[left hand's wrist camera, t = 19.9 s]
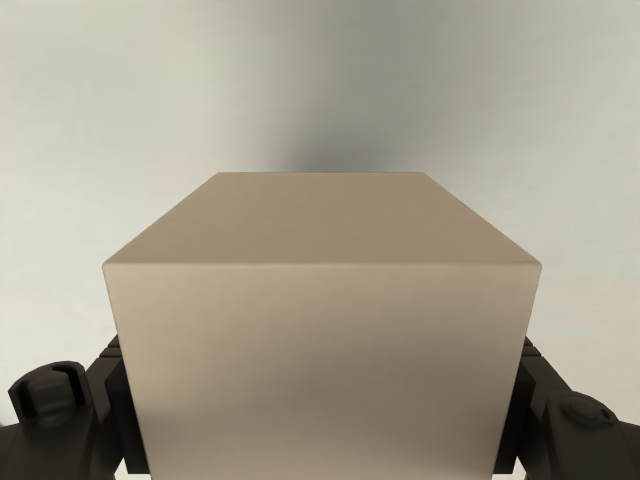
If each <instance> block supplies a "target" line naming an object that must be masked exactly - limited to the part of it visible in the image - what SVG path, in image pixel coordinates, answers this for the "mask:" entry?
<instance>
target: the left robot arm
mask: <svg viewBox="0 0 640 480" xmlns="http://www.w3.org/2000/svg"><path fill="white" fill-rule="evenodd" d="M8 394H9V396H10V399H11V401H12V404H13V407H14V409H15V412H16V414H17V417H18V420H19V422H20V423H17V424H13V425H9V426H5V427H0V480H116V479H115V475H114V474H115V472H116V470H117V468H118V466H119V464H120V462H121V461H122V459H123V457H124V460H125V464H126V468H127V472H128V474H150V471H149V467H148V463H147V458H146V454H145V450H144V445H143V441H142V437H141V433H140V428H139V424H138V420H137V415H136V411H135V407H134V403H133V398H132V394H131V390H130V385H129V381H128V377H127V373H126V368H125V364H124V360H123V355H122V351H121V347H120V343H119V338H118V334H117V335H116V336H115V337H114V338H113V340H112V341H111V342H110V343H109V344H108V347H107V348H105V349H104V350H103V352H102V353H101V354H100V355H99V358H97V359H96V360H95V361H94V362H93V363H92V365H91V366H90V367H89V368H88V369H87V371H86V372H85V369H84V367H83V366H82V365H81V364H80V363H78V362H73V361H61V362H54V363H51V364H47V365H44V366H41V367H39V368H37V369H35V370H33V371H31V372H29V373H26V374H25V375H24V376H22V377H21V378H20V379H18V380H17V381H16V382H15V383H14V384H13V385H12V386H11V388H10V389H9V390H8ZM517 456H518V458H519V460H520V462H521V464H522V466H523V467H524V469H525V471H526V475H525V479H524V480H640V426H638V425H634V424H630V423H625V422H622V421H619V420H618V418H617V417H616V415H615V414H614V413H613V412H612V411H611V410H610V409H609V408H607V407H606V406H605V405H604V404H603V403H601V402H599V401H597V400H595V399H594V398H592V397H590V396H587V395H585V394H582V393H579V392H576V391H572V390H571V389H570V387H569V386H568V385H567V384H566V383H565V382H564V380H563V379H562V378H561V377H560V376H559V374H558V373H557V372H556V371H555V370H554V369H553V367H552V366H551V365H550V364H549V363H548V361H547V360H546V359H545V358H544V357H542V356H541V353H540V352H539V351H538V350H537V348H536V347H533V344H532V343H531V341H530V340H529V339H528V338H527V337H526V336H525V341H524V345H523V349H522V353H521V357H520V361H519V366H518V370H517V374H516V378H515V382H514V387H513V391H512V395H511V399H510V403H509V408H508V412H507V416H506V420H505V424H504V429H503V433H502V437H501V441H500V445H499V450H498V454H497V458H496V462H495V466H494V471H493V474H512V473H513V469H514V465H515V461H516V457H517Z"/></svg>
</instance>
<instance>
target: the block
mask: <svg viewBox="0 0 640 480" xmlns="http://www.w3.org/2000/svg"><path fill="white" fill-rule="evenodd" d="M541 269H542V265H541V263H540V262H539V261H538V260H536V259H535V258H534V257H533V256H531V255H530V254H529V253H527V252H526V251H525V250H523V249H522V248H521V247H520V246H518V245H517V244H516V243H514V242H513V241H512V240H510V239H509V238H508V237H507V236H505V235H504V234H503V233H501V232H500V231H499V230H497V229H496V228H495V227H494V226H492V225H491V224H490V223H488V222H487V221H486V220H484V219H483V218H482V217H481V216H479V215H478V214H477V213H475V212H474V211H473V210H471V209H470V208H469V207H468V206H466V205H465V204H464V203H462V202H461V201H460V200H458V199H457V198H456V197H455V196H453V195H452V194H451V193H449V192H448V191H447V190H445V189H444V188H443V187H442V186H440V185H439V184H438V183H436V182H435V181H434V180H432V179H431V178H430V177H429V176H427V175H426V174H425V173H423V172H218V173H217V174H215V175H214V176H213V177H211V178H210V179H209V180H208V181H206V182H205V183H204V184H203V185H201V186H200V187H199V188H198V189H196V190H195V191H194V192H192V193H191V194H190V195H189V196H187V197H186V198H185V199H184V200H182V201H181V202H180V203H179V204H177V205H176V206H175V207H173V208H172V209H171V210H170V211H168V212H167V213H166V214H165V215H163V216H162V217H161V218H160V219H158V220H157V221H156V222H154V223H153V224H152V225H151V226H149V227H148V228H147V229H146V230H144V231H143V232H142V233H141V234H139V235H138V236H137V237H135V238H134V239H133V240H132V241H130V242H129V243H128V244H127V245H125V246H124V247H123V248H122V249H120V250H119V251H118V252H116V253H115V254H114V255H113V256H111V257H110V258H109V259H108V260H106V261H105V262H104V263H103V265H102V270H103V274H104V278H105V283H106V287H107V291H108V295H109V300H110V304H111V308H112V313H113V317H114V321H115V325H116V330H117V334H118V338H119V343H120V347H121V351H122V355H123V360H124V364H125V368H126V373H127V377H128V381H129V385H130V390H131V394H132V398H133V403H134V407H135V411H136V415H137V420H138V424H139V428H140V433H141V437H142V441H143V445H144V450H145V454H146V458H147V463H148V467H149V471H150V475H151V480H491V479H492V475H493V471H494V466H495V462H496V458H497V454H498V450H499V445H500V441H501V437H502V433H503V429H504V424H505V420H506V416H507V412H508V408H509V403H510V399H511V395H512V391H513V387H514V382H515V378H516V374H517V370H518V366H519V361H520V357H521V353H522V349H523V345H524V341H525V336H526V332H527V328H528V324H529V320H530V315H531V311H532V307H533V303H534V299H535V294H536V290H537V286H538V282H539V278H540V273H541Z"/></svg>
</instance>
